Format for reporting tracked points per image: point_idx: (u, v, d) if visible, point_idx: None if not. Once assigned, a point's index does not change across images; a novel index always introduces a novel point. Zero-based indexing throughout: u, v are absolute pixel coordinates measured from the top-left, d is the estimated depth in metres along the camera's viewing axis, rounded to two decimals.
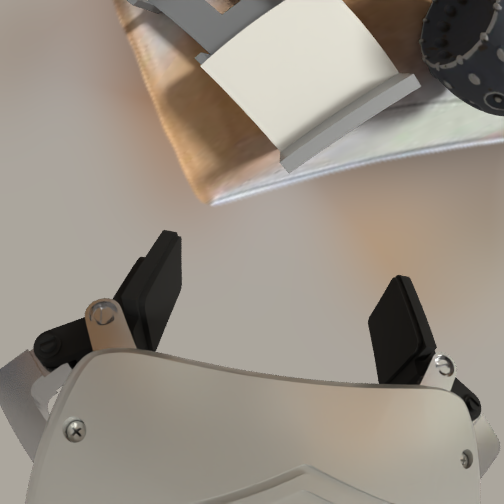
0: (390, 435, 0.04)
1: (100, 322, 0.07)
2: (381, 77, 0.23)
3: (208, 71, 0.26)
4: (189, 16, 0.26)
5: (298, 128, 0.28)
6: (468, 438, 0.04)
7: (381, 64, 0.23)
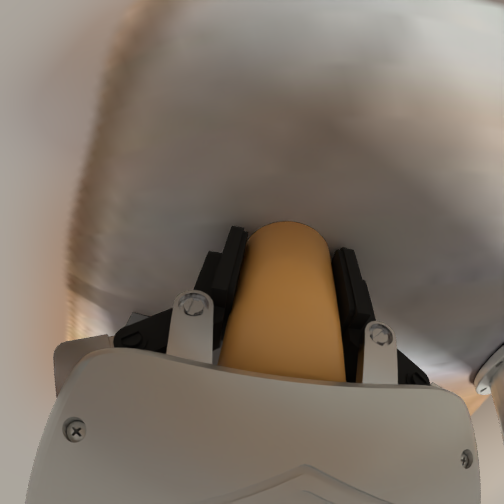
0: (390, 435, 0.04)
1: (187, 312, 0.08)
2: None
3: None
4: None
5: None
6: (468, 438, 0.04)
7: None
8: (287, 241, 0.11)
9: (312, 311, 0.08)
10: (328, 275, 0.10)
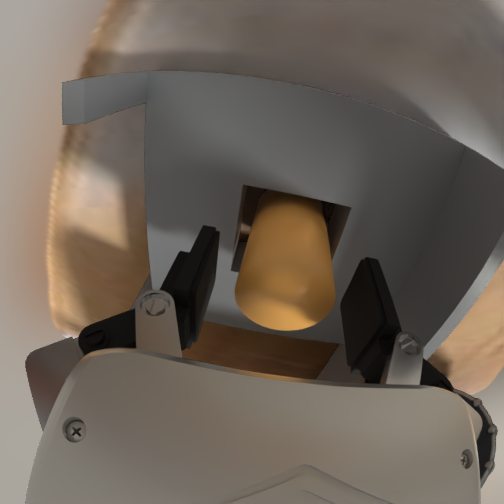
0: (390, 435, 0.04)
1: (150, 312, 0.08)
2: None
3: None
4: (178, 214, 0.14)
5: None
6: (468, 438, 0.04)
7: None
8: None
9: (307, 231, 0.12)
10: (320, 217, 0.14)
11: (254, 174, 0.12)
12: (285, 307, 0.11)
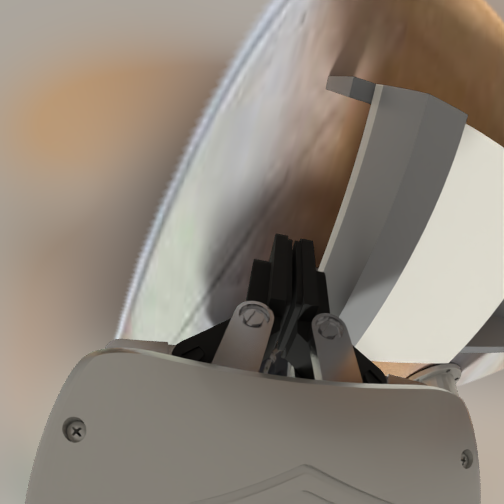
0: (390, 435, 0.04)
1: (246, 321, 0.08)
2: None
3: None
4: None
5: None
6: (468, 438, 0.04)
7: None
8: None
9: None
10: None
11: None
12: None
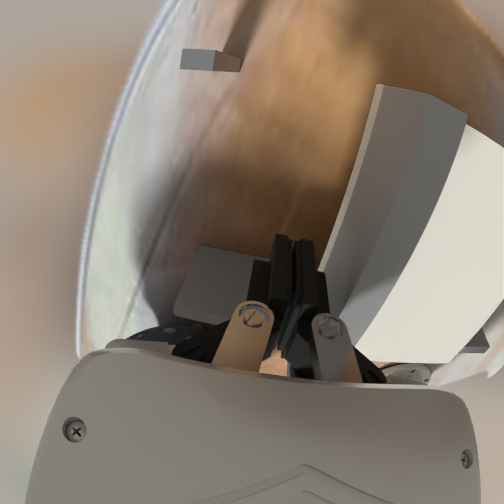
0: (390, 435, 0.04)
1: (246, 321, 0.08)
2: None
3: None
4: None
5: None
6: (468, 438, 0.04)
7: None
8: None
9: None
10: None
11: None
12: None
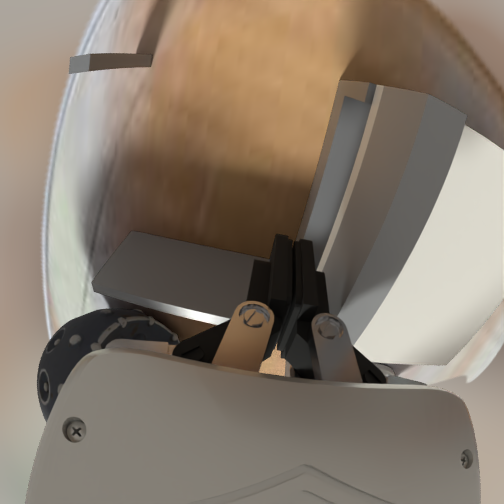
0: (390, 435, 0.04)
1: (246, 321, 0.08)
2: None
3: None
4: None
5: None
6: (468, 438, 0.04)
7: None
8: None
9: None
10: None
11: None
12: None
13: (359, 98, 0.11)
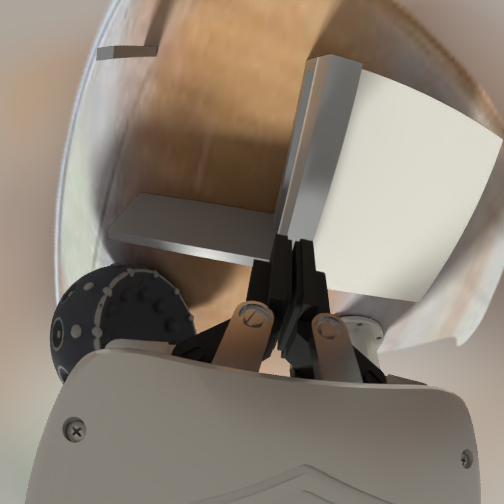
0: (390, 435, 0.04)
1: (246, 321, 0.08)
2: None
3: (493, 136, 0.13)
4: None
5: None
6: (468, 438, 0.04)
7: None
8: None
9: None
10: None
11: None
12: None
13: (312, 70, 0.15)
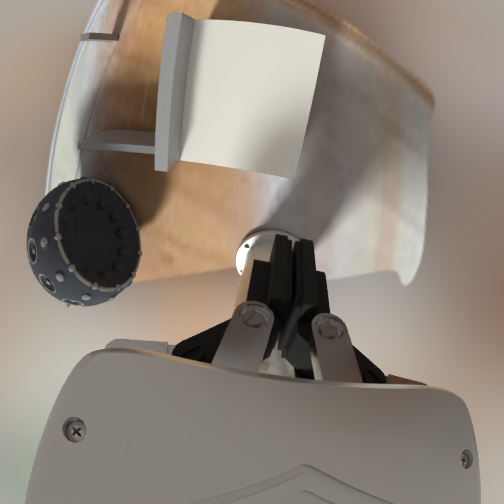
0: (390, 435, 0.04)
1: (246, 321, 0.08)
2: (185, 142, 0.30)
3: (313, 34, 0.21)
4: None
5: (199, 46, 0.23)
6: (468, 438, 0.04)
7: (195, 151, 0.30)
8: None
9: None
10: None
11: None
12: None
13: None
